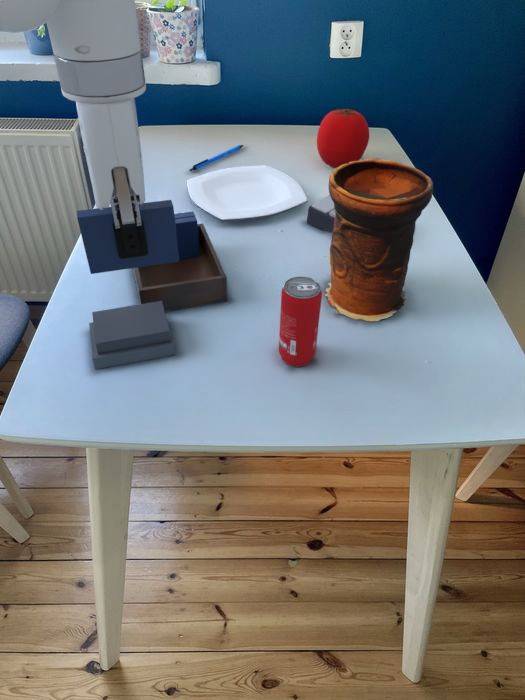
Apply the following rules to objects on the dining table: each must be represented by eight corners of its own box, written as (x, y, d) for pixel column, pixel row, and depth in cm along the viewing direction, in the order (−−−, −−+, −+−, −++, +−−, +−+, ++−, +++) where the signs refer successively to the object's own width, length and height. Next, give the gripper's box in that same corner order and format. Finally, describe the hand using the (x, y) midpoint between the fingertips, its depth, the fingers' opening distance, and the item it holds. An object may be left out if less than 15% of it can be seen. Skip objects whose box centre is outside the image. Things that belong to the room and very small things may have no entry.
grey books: (95, 369, 74) (89, 347, 71) (91, 333, 79) (86, 311, 77) (174, 354, 76) (172, 333, 74) (166, 320, 82) (163, 299, 79)
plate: (321, 211, 109) (322, 202, 107) (215, 235, 101) (215, 226, 100) (270, 168, 124) (270, 159, 123) (174, 186, 116) (173, 177, 115)
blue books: (142, 265, 92) (136, 228, 87) (140, 254, 95) (134, 218, 90) (200, 256, 94) (197, 220, 90) (196, 246, 97) (193, 211, 92)
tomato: (333, 179, 120) (339, 121, 112) (304, 160, 128) (308, 104, 119) (376, 168, 125) (386, 112, 116) (347, 151, 132) (353, 96, 124)
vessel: (303, 279, 91) (312, 163, 77) (377, 264, 94) (398, 151, 81) (341, 331, 81) (360, 208, 67) (423, 312, 84) (456, 192, 71)
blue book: (90, 274, 60) (77, 217, 56) (90, 266, 62) (76, 210, 57) (179, 261, 62) (173, 206, 58) (177, 254, 64) (171, 199, 59)
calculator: (374, 234, 95) (307, 202, 102) (369, 254, 98) (305, 223, 105) (406, 212, 101) (341, 184, 108) (401, 232, 104) (338, 203, 111)
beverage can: (276, 345, 78) (279, 276, 70) (311, 343, 78) (318, 274, 70) (280, 369, 74) (284, 299, 66) (317, 368, 75) (325, 298, 67)
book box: (142, 315, 83) (138, 290, 80) (130, 256, 95) (126, 233, 92) (227, 301, 86) (226, 277, 83) (204, 246, 98) (203, 223, 95)
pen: (188, 171, 122) (188, 166, 121) (242, 146, 133) (241, 142, 132) (191, 172, 121) (191, 167, 120) (244, 147, 133) (244, 142, 132)
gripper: (58, 53, 53) (94, 221, 66) (58, 104, 42) (103, 295, 54) (134, 49, 55) (156, 214, 67) (155, 97, 44) (176, 284, 56)
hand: (132, 249), depth 61 cm, fingers closed on blue book, 1 cm apart
